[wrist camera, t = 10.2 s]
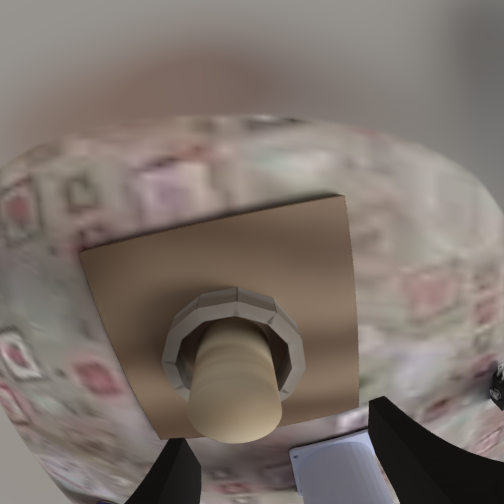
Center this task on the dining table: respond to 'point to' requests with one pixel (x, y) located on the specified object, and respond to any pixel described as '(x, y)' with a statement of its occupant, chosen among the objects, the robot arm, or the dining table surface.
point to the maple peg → (234, 383)
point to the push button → (498, 388)
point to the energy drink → (105, 502)
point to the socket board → (235, 305)
